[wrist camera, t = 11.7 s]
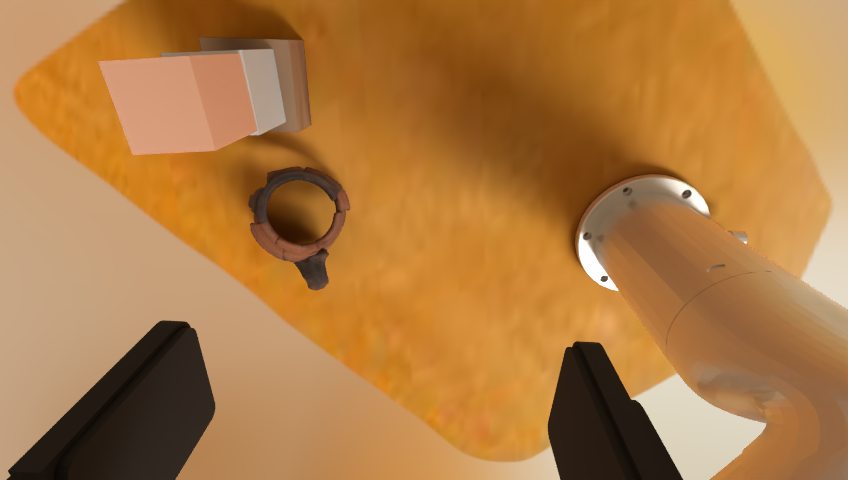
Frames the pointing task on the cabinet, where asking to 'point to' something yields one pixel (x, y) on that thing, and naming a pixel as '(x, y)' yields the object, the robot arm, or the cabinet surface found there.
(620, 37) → the cabinet surface
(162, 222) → the cabinet surface
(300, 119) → the tan cardboard-coloured box
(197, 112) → the terracotta block
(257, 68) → the greyblue cube
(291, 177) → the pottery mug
